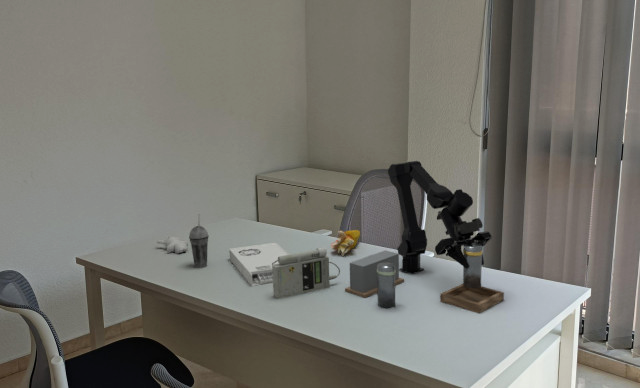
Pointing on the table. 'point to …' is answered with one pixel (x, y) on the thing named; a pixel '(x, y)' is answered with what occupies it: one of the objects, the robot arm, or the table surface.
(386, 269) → the cylinder
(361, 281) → the block
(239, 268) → the power supply unit
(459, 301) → the tray
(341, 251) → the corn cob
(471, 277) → the cylinder
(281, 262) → the geiger counter
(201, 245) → the beverage cup
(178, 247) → the bunny figurine
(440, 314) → the table surface
